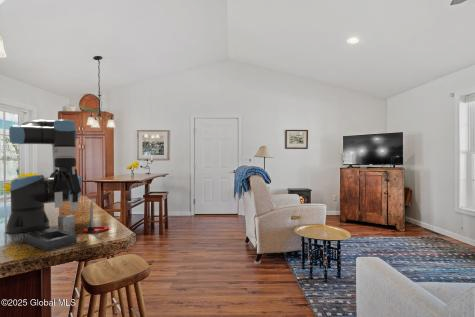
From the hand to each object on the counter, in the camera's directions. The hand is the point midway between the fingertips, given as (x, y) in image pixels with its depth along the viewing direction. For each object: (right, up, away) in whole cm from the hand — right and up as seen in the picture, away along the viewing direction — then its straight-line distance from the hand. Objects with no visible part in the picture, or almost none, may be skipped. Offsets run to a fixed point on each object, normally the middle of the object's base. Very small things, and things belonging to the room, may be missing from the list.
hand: (66, 208), depth 111 cm
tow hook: (+11, -10, +4) cm, 15 cm away
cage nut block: (0, -10, 0) cm, 10 cm away
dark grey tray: (+2, -10, -12) cm, 15 cm away
